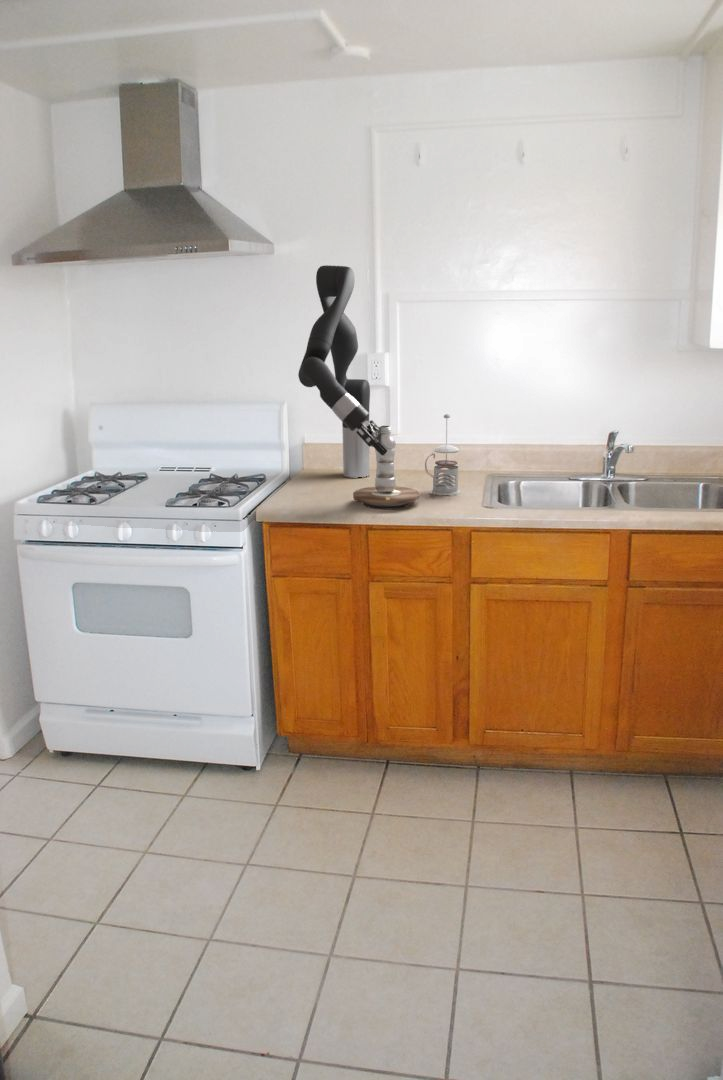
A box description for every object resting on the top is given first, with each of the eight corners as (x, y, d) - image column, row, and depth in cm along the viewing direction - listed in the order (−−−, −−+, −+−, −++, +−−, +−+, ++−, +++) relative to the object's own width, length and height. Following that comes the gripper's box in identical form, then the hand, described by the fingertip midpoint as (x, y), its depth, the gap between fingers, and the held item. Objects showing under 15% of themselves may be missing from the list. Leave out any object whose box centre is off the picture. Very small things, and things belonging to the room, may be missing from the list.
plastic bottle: (391, 489, 273) (391, 424, 268) (399, 493, 267) (399, 427, 262) (371, 490, 271) (370, 425, 266) (379, 495, 265) (378, 428, 260)
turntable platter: (352, 490, 278) (352, 486, 278) (416, 489, 279) (416, 484, 279) (354, 505, 259) (353, 500, 259) (422, 504, 260) (422, 499, 259)
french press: (459, 496, 278) (461, 416, 271) (422, 494, 280) (423, 415, 273) (462, 489, 287) (464, 412, 280) (426, 488, 289) (427, 411, 282)
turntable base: (362, 498, 276) (362, 492, 276) (407, 497, 277) (407, 492, 276) (363, 509, 263) (363, 503, 262) (411, 508, 263) (411, 502, 263)
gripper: (353, 406, 256) (392, 446, 257) (364, 400, 270) (401, 438, 270) (335, 424, 259) (374, 464, 260) (347, 417, 272) (384, 455, 273)
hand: (388, 450), depth 265 cm, fingers open, 8 cm apart
